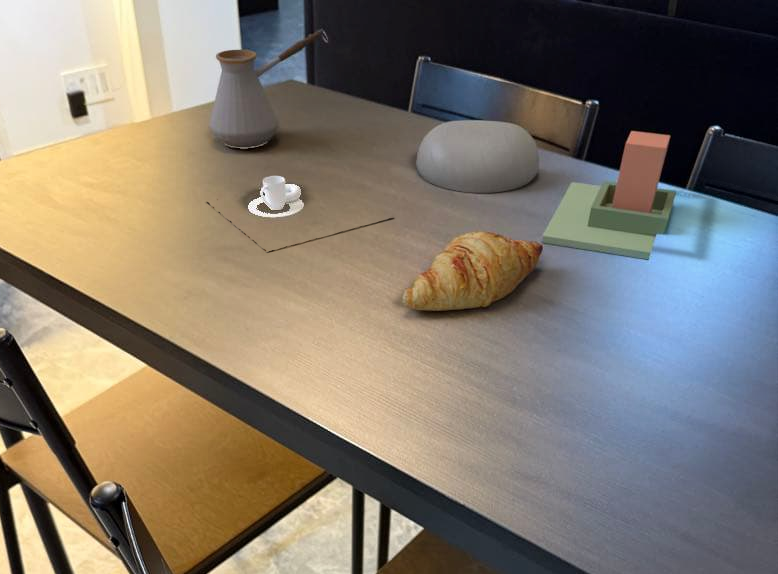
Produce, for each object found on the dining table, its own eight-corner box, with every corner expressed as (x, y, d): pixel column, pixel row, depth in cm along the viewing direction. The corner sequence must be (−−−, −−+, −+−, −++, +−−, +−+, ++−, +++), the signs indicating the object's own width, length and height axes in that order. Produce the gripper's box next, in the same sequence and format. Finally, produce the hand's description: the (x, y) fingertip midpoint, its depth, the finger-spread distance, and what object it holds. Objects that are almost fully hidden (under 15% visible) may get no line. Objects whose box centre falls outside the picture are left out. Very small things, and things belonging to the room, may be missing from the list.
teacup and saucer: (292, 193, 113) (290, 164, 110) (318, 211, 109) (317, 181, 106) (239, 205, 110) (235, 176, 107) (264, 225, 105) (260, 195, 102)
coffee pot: (223, 158, 124) (209, 51, 113) (203, 136, 131) (188, 34, 120) (343, 139, 130) (340, 36, 119) (318, 119, 137) (313, 20, 127)
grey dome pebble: (414, 138, 109) (421, 103, 120) (412, 191, 114) (419, 152, 125) (547, 143, 107) (542, 106, 119) (539, 196, 113) (535, 156, 124)
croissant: (419, 352, 89) (442, 309, 81) (372, 285, 90) (391, 238, 83) (547, 295, 97) (578, 252, 90) (502, 235, 99) (530, 188, 92)
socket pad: (709, 208, 109) (717, 182, 107) (697, 267, 96) (705, 240, 94) (570, 188, 114) (575, 164, 112) (541, 242, 101) (545, 216, 99)
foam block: (650, 213, 106) (670, 135, 99) (646, 227, 102) (666, 147, 95) (614, 207, 107) (631, 130, 100) (608, 221, 104) (625, 142, 97)
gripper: (897, -217, 81) (845, 15, 89) (652, -188, 89) (623, 24, 96) (918, -262, 75) (860, -7, 82) (652, -226, 82) (620, 5, 89)
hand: (732, 10), depth 89 cm, fingers open, 13 cm apart
